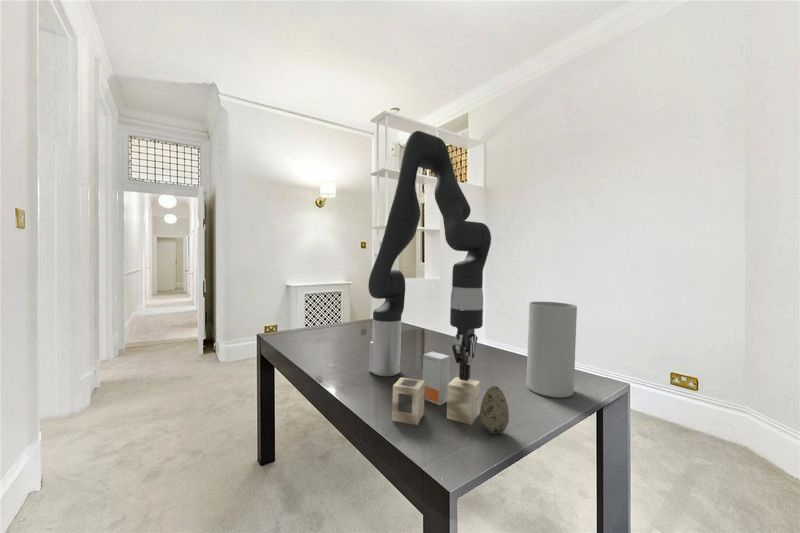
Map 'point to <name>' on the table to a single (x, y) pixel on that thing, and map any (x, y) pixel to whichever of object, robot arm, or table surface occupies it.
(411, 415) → the marked block
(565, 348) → the cylinder vase
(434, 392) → the skincare box
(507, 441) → the table surface
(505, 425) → the decorative egg
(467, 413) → the birch block
